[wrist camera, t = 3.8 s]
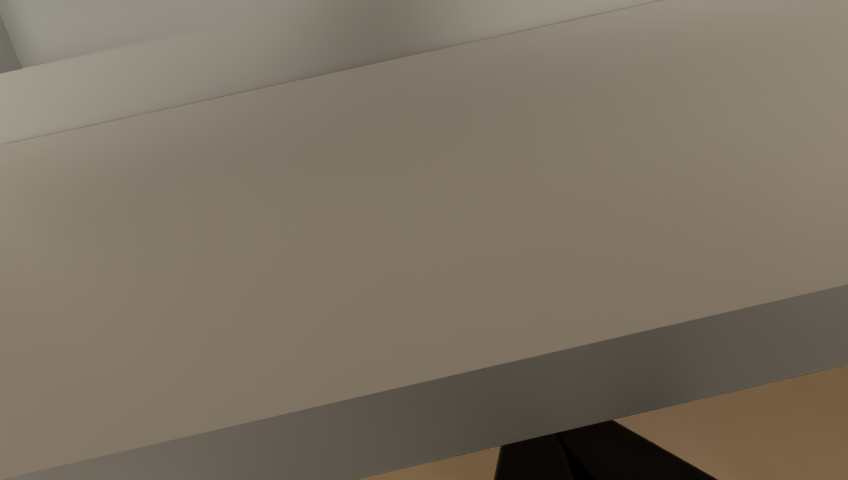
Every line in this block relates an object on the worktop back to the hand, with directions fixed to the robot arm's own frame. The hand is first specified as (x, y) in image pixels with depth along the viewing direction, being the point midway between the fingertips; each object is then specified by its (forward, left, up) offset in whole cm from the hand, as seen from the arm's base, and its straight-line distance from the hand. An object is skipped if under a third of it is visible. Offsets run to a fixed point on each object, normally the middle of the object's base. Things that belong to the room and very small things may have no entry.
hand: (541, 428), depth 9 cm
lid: (0, -4, -1) cm, 4 cm away
